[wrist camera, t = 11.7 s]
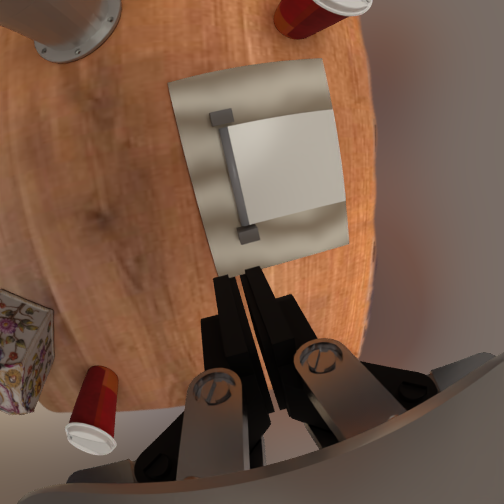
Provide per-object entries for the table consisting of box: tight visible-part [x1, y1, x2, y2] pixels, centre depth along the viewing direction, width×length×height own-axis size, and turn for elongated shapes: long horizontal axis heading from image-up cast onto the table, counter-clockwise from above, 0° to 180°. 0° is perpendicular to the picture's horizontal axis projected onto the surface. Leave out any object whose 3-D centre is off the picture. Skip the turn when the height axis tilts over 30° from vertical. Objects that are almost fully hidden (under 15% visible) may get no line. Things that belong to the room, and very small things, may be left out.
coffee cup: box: [65, 366, 118, 455], centre depth 37 cm, size 8×8×15 cm
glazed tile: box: [218, 109, 346, 226], centre depth 34 cm, size 12×1×14 cm
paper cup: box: [274, 0, 372, 39], centre depth 22 cm, size 8×8×14 cm
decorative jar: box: [0, 289, 55, 415], centre depth 29 cm, size 12×12×18 cm
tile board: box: [168, 58, 349, 278], centre depth 34 cm, size 26×19×3 cm
